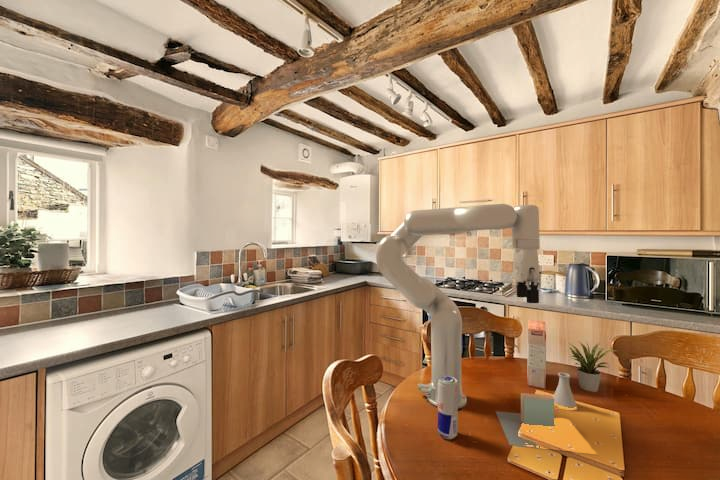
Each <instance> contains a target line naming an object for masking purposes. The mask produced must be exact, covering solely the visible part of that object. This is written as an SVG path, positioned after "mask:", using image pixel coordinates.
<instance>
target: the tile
mask: <svg viewBox="0 0 720 480" xmlns="http://www.w3.org/2000/svg"><path fill="white" fill-rule="evenodd" d="M520 414H521V422H522V423H524V424H529V425H543V426H555V425H554V417H555V406H554V398H553V395H548V394H540V393H539V394H538V393H526V392H520Z"/></svg>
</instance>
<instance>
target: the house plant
mask: <svg viewBox="0 0 720 480" xmlns="http://www.w3.org/2000/svg"><path fill="white" fill-rule="evenodd" d="M577 342H578V343H579V344H580V345H581V348H582V350H583V353H584V355H583V354H582V353H581V351H580V350H579V349H578V348H577V347H576V346H575V345H573V344H572V343H569V342H568V344H569V345H571V346H572V347H573V348H572V347H569V346H568V347H569V350H570V351H571V353H572V355H570V356H569V357H570V358H571V359H573V360H574V361H577V362H578V363H577V362H576V363H574V365H577V366H578V367H576V372H577V378H578V384H579V387H580V388H581V389H582V390H585V391H586V392H594V393H595V392H599V387H600V381H601V376H602V371H601V370H599V369H597V368H608V369H609V367H608V366H606V365H609V366H610V364H609V363H608V362H604V361H603V362H600V363H598V364H597V362H598V361H599V359H601V358H603V356H606V355H607V354H608V353H611V352H617V350H614V349H612V350H611V349H609V350H605V351H603V350H604V348H603V347H602V348H600V347H599V345H601V342H600V343H599V342H598V343H596V344H595V345H594V346H593V348H592V349H590V346H589V344H588V343H586V345H585V344H583V343H582V342H581V341H578V340H577ZM598 347H599V348H598ZM597 350H598V351H597ZM584 356H585V357H584ZM596 364H597V365H596Z"/></svg>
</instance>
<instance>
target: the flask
mask: <svg viewBox="0 0 720 480" xmlns="http://www.w3.org/2000/svg"><path fill="white" fill-rule="evenodd" d="M558 377H559V378H558V379H559V380H558V385H557V386H556V390H555V391H554V393H553V395H552V397H553V398H554V402H555V403H556V404H558V405H561V406H564V407H568V408H574V407H577V408H578V406H577V402H576V399H575V397H574V394H573V392H572V389H571V385H570V378H571V374H570V373H569V374H568V373H567V372H558Z"/></svg>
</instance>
